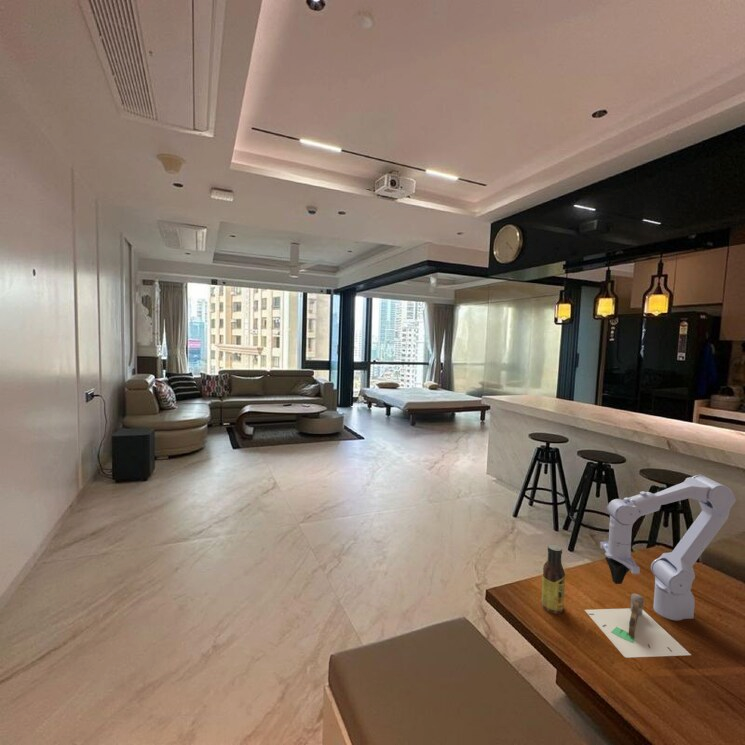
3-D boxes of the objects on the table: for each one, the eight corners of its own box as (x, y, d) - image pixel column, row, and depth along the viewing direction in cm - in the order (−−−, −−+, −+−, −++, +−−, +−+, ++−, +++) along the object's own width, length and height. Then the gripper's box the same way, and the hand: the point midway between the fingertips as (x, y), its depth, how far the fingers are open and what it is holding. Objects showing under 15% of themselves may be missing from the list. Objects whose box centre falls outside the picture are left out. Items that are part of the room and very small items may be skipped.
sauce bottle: (562, 619, 117) (565, 556, 115) (539, 611, 120) (542, 549, 118) (564, 606, 122) (567, 546, 120) (542, 599, 125) (545, 540, 124)
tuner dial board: (640, 611, 120) (640, 607, 120) (691, 658, 102) (691, 654, 102) (584, 612, 119) (584, 609, 119) (624, 661, 102) (625, 657, 101)
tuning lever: (631, 606, 120) (631, 592, 120) (642, 610, 118) (643, 596, 118) (624, 636, 108) (625, 621, 107) (637, 642, 106) (638, 626, 106)
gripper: (592, 528, 125) (590, 569, 127) (624, 553, 111) (621, 598, 112) (613, 528, 126) (610, 568, 127) (647, 552, 111) (644, 597, 113)
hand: (617, 582), depth 120 cm, fingers closed
